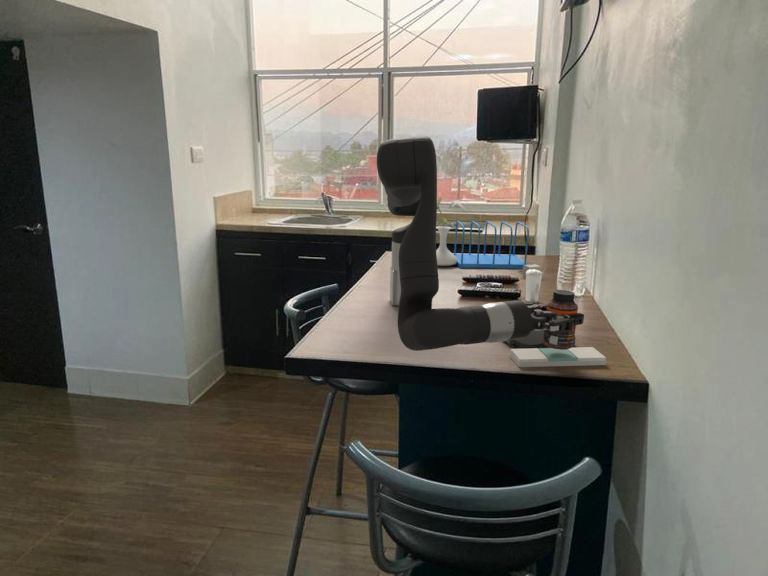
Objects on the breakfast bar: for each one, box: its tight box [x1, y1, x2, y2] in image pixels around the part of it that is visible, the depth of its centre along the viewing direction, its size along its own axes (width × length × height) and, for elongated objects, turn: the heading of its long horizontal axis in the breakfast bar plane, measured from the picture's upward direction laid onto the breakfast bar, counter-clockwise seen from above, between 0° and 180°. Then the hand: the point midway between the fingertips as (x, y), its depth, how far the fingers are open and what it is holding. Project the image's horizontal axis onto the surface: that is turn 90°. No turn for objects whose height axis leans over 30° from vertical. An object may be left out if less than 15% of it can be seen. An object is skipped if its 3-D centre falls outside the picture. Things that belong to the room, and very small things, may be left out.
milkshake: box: [525, 268, 546, 303], centre depth 154 cm, size 5×5×10 cm
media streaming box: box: [502, 330, 576, 349], centre depth 123 cm, size 15×15×3 cm
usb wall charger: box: [517, 264, 542, 279], centre depth 183 cm, size 4×7×4 cm, turn 109°
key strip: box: [509, 346, 607, 368], centre depth 112 cm, size 18×6×2 cm, turn 95°
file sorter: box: [452, 220, 530, 270], centre depth 202 cm, size 25×17×15 cm
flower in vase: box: [436, 197, 458, 267], centre depth 196 cm, size 13×11×25 cm
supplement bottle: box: [543, 289, 579, 350], centre depth 110 cm, size 6×6×11 cm
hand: (570, 313), depth 110 cm, fingers closed on supplement bottle, 6 cm apart
